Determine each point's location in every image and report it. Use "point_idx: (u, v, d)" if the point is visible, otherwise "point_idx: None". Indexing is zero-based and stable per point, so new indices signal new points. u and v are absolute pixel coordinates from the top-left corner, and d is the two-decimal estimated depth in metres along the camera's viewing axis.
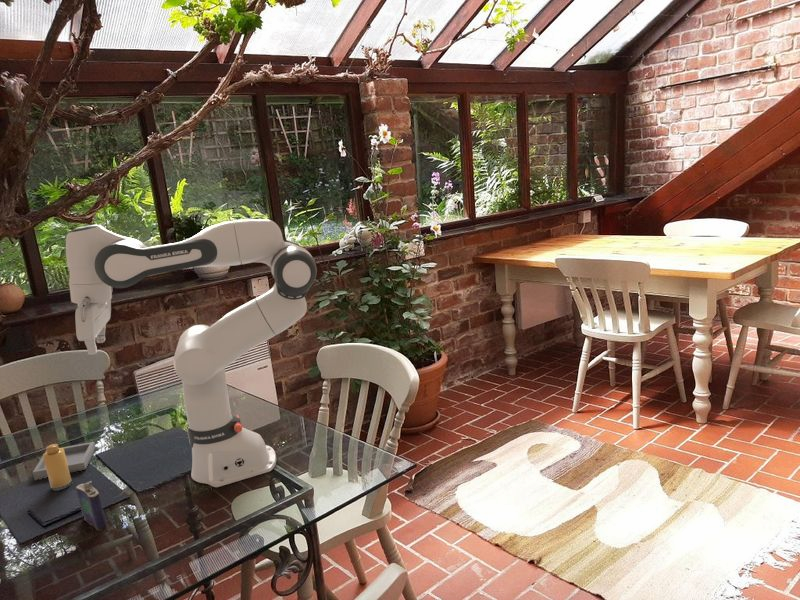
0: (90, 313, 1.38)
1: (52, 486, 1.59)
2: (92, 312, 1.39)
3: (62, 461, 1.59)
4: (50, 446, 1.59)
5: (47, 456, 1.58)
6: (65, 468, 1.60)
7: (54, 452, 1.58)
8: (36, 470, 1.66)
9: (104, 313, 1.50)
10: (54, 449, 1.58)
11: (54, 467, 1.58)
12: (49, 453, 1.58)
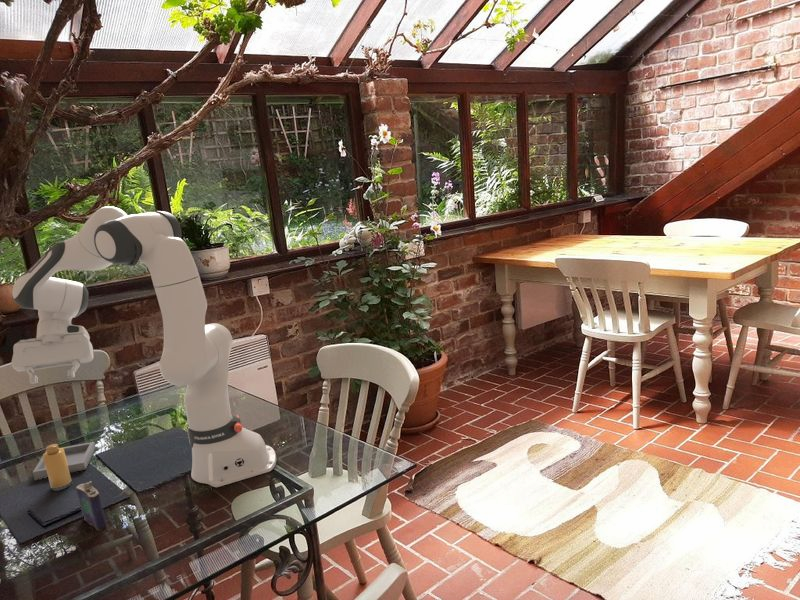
0: (16, 347, 1.69)
1: (52, 486, 1.59)
2: (18, 346, 1.69)
3: (62, 461, 1.59)
4: (50, 446, 1.59)
5: (47, 456, 1.58)
6: (65, 468, 1.60)
7: (54, 452, 1.58)
8: (36, 470, 1.66)
9: (64, 350, 1.70)
10: (54, 449, 1.58)
11: (54, 467, 1.58)
12: (49, 453, 1.58)
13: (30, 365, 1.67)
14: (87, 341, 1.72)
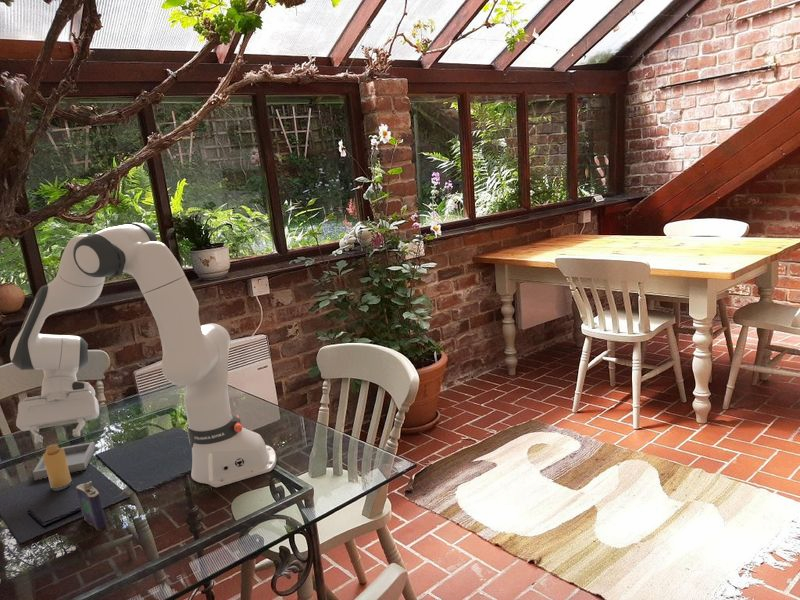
0: (20, 405, 1.66)
1: (52, 486, 1.59)
2: (23, 404, 1.66)
3: (62, 461, 1.59)
4: (50, 446, 1.59)
5: (47, 456, 1.58)
6: (65, 468, 1.60)
7: (54, 452, 1.58)
8: (36, 470, 1.66)
9: (69, 408, 1.67)
10: (54, 449, 1.58)
11: (54, 467, 1.58)
12: (49, 453, 1.58)
13: (35, 424, 1.64)
14: (92, 398, 1.68)
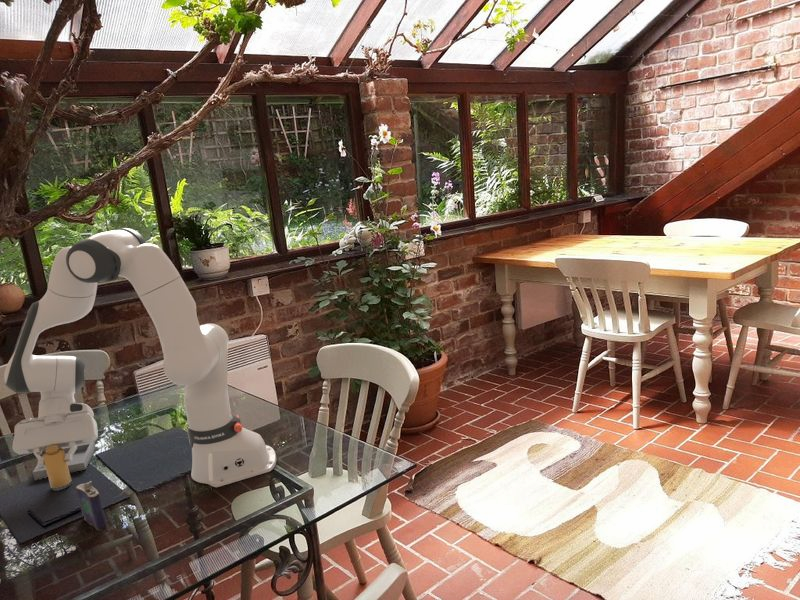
0: (17, 428, 1.61)
1: (52, 486, 1.59)
2: (20, 427, 1.61)
3: (62, 461, 1.59)
4: (50, 446, 1.59)
5: (47, 456, 1.58)
6: (65, 468, 1.60)
7: (54, 452, 1.58)
8: (36, 470, 1.66)
9: (67, 430, 1.62)
10: (54, 449, 1.58)
11: (54, 467, 1.58)
12: (49, 453, 1.58)
13: (32, 448, 1.59)
14: (91, 420, 1.64)
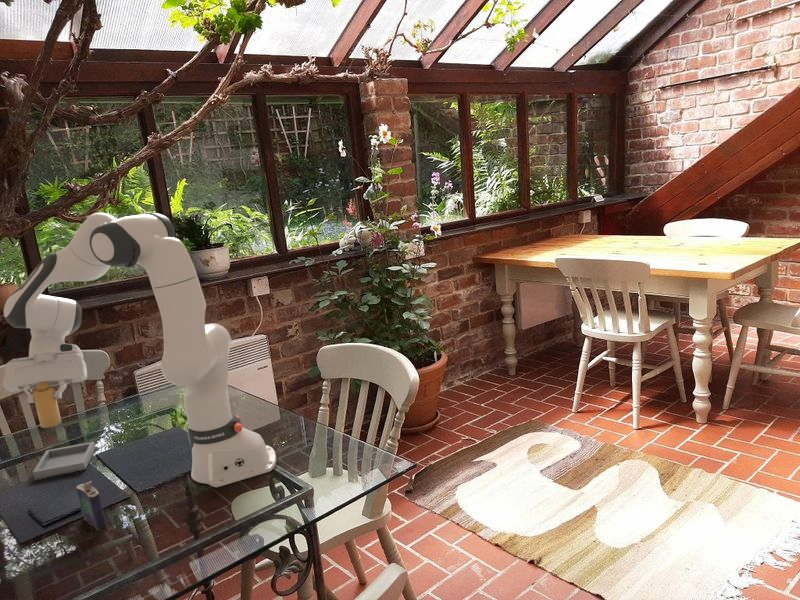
0: (8, 366, 1.65)
1: (41, 422, 1.63)
2: (10, 365, 1.65)
3: (52, 398, 1.63)
4: (40, 383, 1.63)
5: (37, 392, 1.61)
6: (55, 405, 1.64)
7: (44, 389, 1.62)
8: (36, 470, 1.66)
9: (56, 369, 1.66)
10: (44, 386, 1.62)
11: (44, 403, 1.62)
12: (39, 390, 1.62)
13: (22, 385, 1.63)
14: (80, 360, 1.68)
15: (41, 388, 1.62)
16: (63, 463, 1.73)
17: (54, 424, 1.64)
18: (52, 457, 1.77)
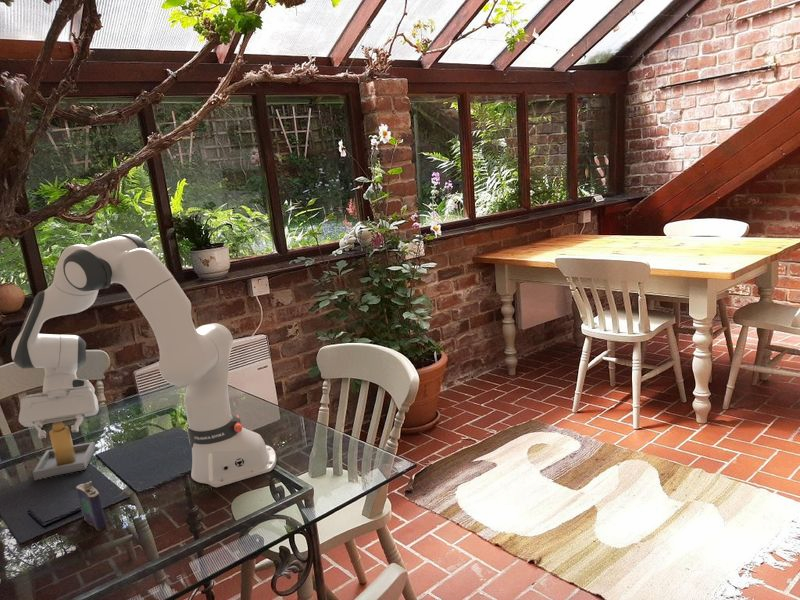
0: (23, 402, 1.73)
1: (58, 461, 1.71)
2: (25, 401, 1.73)
3: (67, 438, 1.71)
4: (56, 424, 1.70)
5: (53, 433, 1.69)
6: (70, 444, 1.72)
7: (60, 429, 1.70)
8: (36, 470, 1.66)
9: (69, 404, 1.74)
10: (60, 426, 1.70)
11: (60, 443, 1.69)
12: (55, 430, 1.69)
13: (37, 420, 1.71)
14: (92, 395, 1.75)
15: (57, 429, 1.69)
16: None
17: (70, 462, 1.72)
18: (52, 457, 1.77)
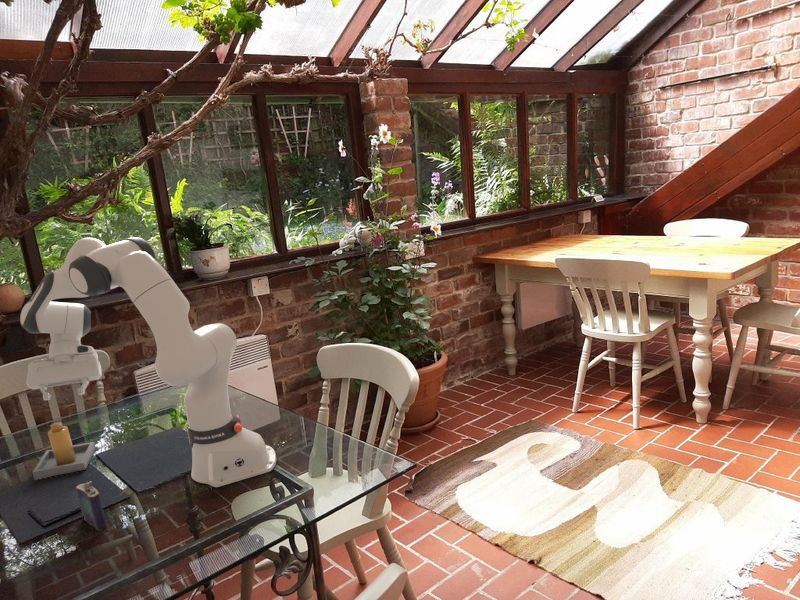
0: (30, 366, 1.82)
1: (58, 461, 1.71)
2: (32, 365, 1.82)
3: (66, 437, 1.71)
4: (54, 424, 1.70)
5: (52, 433, 1.69)
6: (69, 444, 1.72)
7: (58, 429, 1.70)
8: (36, 470, 1.66)
9: (74, 368, 1.83)
10: (58, 426, 1.70)
11: (59, 443, 1.69)
12: (54, 430, 1.69)
13: (43, 383, 1.80)
14: (96, 360, 1.85)
15: (56, 429, 1.69)
16: None
17: (70, 462, 1.72)
18: (52, 457, 1.77)
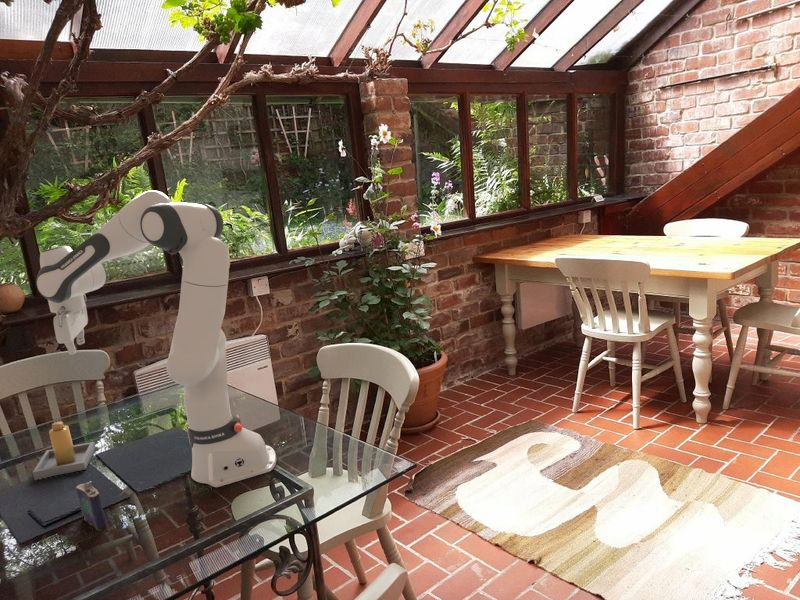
0: (66, 319, 1.65)
1: (58, 461, 1.71)
2: (67, 318, 1.65)
3: (67, 437, 1.71)
4: (56, 423, 1.71)
5: (53, 432, 1.69)
6: (70, 443, 1.72)
7: (60, 428, 1.70)
8: (36, 470, 1.66)
9: (80, 319, 1.77)
10: (60, 425, 1.70)
11: (60, 442, 1.70)
12: (55, 429, 1.70)
13: None
14: None
15: (57, 428, 1.70)
16: None
17: (70, 461, 1.72)
18: (52, 457, 1.77)
